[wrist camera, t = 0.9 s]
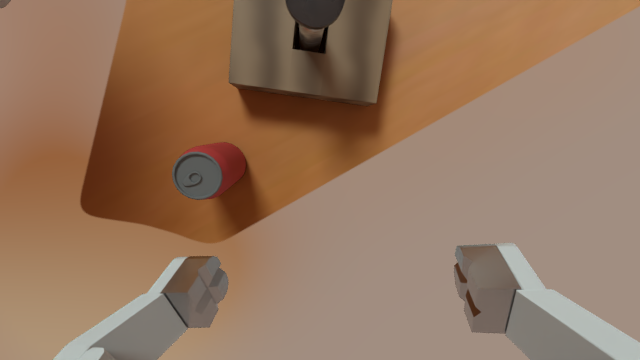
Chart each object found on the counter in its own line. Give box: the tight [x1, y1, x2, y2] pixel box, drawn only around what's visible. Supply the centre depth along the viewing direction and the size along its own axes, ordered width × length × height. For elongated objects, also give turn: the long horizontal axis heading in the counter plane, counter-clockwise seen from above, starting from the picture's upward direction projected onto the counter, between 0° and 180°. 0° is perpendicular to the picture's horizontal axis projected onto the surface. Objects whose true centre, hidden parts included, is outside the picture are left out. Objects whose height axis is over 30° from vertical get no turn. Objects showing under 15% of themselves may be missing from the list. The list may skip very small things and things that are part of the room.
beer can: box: [172, 142, 246, 200], centre depth 37 cm, size 7×7×12 cm
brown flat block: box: [229, 0, 392, 106], centre depth 38 cm, size 20×15×5 cm
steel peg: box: [285, 0, 345, 53], centre depth 33 cm, size 6×6×16 cm
